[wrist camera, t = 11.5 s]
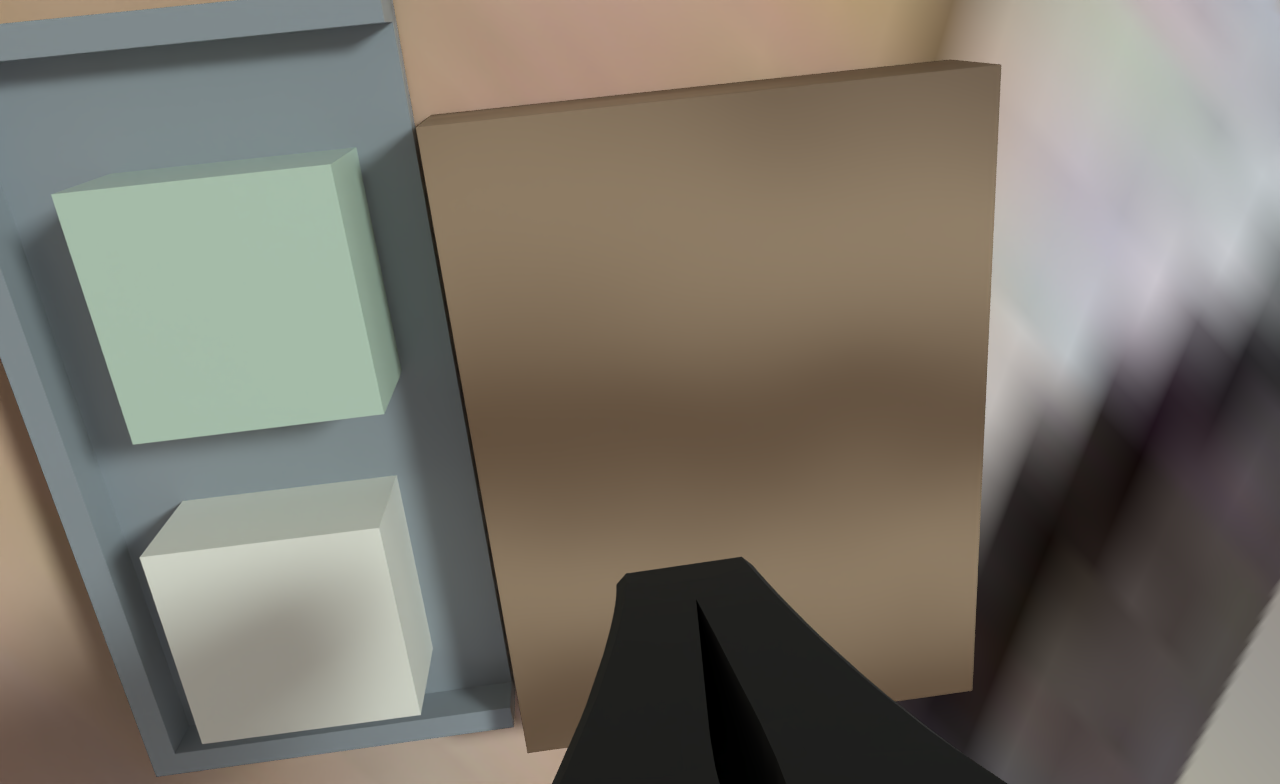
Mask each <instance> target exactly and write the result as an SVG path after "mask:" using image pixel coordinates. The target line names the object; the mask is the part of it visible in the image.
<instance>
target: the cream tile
mask: <svg viewBox="0 0 1280 784" xmlns="http://www.w3.org/2000/svg"><path fill="white" fill-rule="evenodd" d="M140 560H141V563H142V566H143V569H144V572H145V575H146V578H147V581H148V584H149V587H150V590H151V593H152V596H153V599H154V602H155V605H156V608H157V611H158V614H159V617H160V620H161V623H162V626H163V629H164V632H165V635H166V638H167V641H168V644H169V647H170V650H171V653H172V656H173V659H174V662H175V664H176V667H177V670H178V673H179V676H180V679H181V682H182V685H183V688H184V691H185V694H186V697H187V700H188V703H189V706H190V709H191V712H192V715H193V718H194V721H195V724H196V727H197V730H198V733H199V736H200V739H201V742H202V744H207V743H215V742H222V741H230V740H237V739H245V738H252V737H260V736H267V735H274V734H282V733H289V732H297V731H304V730H312V729H319V728H327V727H334V726H342V725H349V724H357V723H364V722H372V721H379V720H387V719H394V718H402V717H409V716H416V715H421V711H422V705H423V700H424V695H425V689H426V684H427V678H428V673H429V667H430V662H431V656H432V651H433V646H432V642H431V637H430V632H429V627H428V622H427V618H426V613H425V608H424V603H423V598H422V594H421V589H420V584H419V579H418V574H417V570H416V565H415V560H414V555H413V551H412V546H411V541H410V536H409V531H408V527H407V522H406V517H405V512H404V507H403V503H402V498H401V493H400V488H399V483H398V479H397V475H395V476H386V477H378V478H370V479H361V480H353V481H345V482H337V483H328V484H320V485H312V486H303V487H295V488H287V489H279V490H270V491H262V492H254V493H245V494H237V495H229V496H220V497H212V498H204V499H196V500H187V501H182V502H181V504H180V505H179V506H178V508H177V509H176V510H175V512H174V513H173V514H172V515H171V517H170V518H169V519H168V521H167V522H166V523H165V525H164V526H163V527H162V529H161V530H160V531H159V533H158V534H157V535H156V537H155V538H154V539H153V540H152V542H151V543H150V544H149V546H148V547H147V548H146V550H145V551H144V552H143V554H142V555H141V556H140Z"/></svg>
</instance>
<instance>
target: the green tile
mask: <svg viewBox="0 0 1280 784" xmlns="http://www.w3.org/2000/svg"><path fill="white" fill-rule="evenodd" d="M51 196H52V199H53V202H54V205H55V208H56V211H57V214H58V217H59V221H60V224H61V227H62V230H63V233H64V236H65V239H66V242H67V245H68V248H69V251H70V254H71V257H72V260H73V263H74V266H75V269H76V272H77V275H78V279H79V282H80V285H81V288H82V291H83V294H84V297H85V300H86V303H87V306H88V309H89V312H90V315H91V318H92V321H93V324H94V327H95V330H96V333H97V336H98V340H99V343H100V346H101V349H102V352H103V355H104V358H105V361H106V364H107V367H108V370H109V373H110V376H111V379H112V382H113V385H114V388H115V391H116V394H117V398H118V401H119V404H120V407H121V410H122V413H123V416H124V419H125V422H126V425H127V428H128V431H129V434H130V437H131V440H132V443H133V445H135V444H143V443H151V442H159V441H168V440H176V439H184V438H192V437H200V436H209V435H217V434H225V433H233V432H242V431H250V430H258V429H266V428H274V427H283V426H291V425H299V424H307V423H315V422H324V421H332V420H340V419H348V418H357V417H365V416H373V415H381V414H384V413H385V411H386V408H387V406H388V404H389V401H390V399H391V396H392V394H393V392H394V389H395V387H396V384H397V382H398V380H399V377H400V375H401V372H402V370H401V365H400V360H399V355H398V350H397V345H396V340H395V335H394V330H393V326H392V321H391V316H390V311H389V306H388V301H387V296H386V291H385V286H384V281H383V276H382V271H381V266H380V261H379V256H378V252H377V247H376V242H375V237H374V232H373V227H372V222H371V217H370V212H369V207H368V202H367V197H366V192H365V187H364V182H363V178H362V173H361V168H360V163H359V158H358V153H357V148H356V147H353V148H344V149H335V150H326V151H316V152H307V153H298V154H288V155H279V156H270V157H260V158H251V159H242V160H233V161H223V162H214V163H205V164H195V165H186V166H177V167H167V168H158V169H149V170H140V171H130V172H121V173H112V174H108V175H105V176H102V177H100V178H97V179H94V180H91V181H88V182H85V183H82V184H79V185H77V186H74V187H71V188H68V189H65V190H62V191H59V192H57V193H54V194H51Z"/></svg>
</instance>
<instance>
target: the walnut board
mask: <svg viewBox="0 0 1280 784" xmlns="http://www.w3.org/2000/svg"><path fill="white" fill-rule="evenodd" d="M1000 81H1001V65H1000V64H989V63H979V62H968V61H958V60H943V61H933V62H924V63H914V64H905V65H896V66H886V67H877V68H868V69H858V70H849V71H840V72H830V73H821V74H811V75H802V76H793V77H783V78H774V79H765V80H755V81H746V82H737V83H727V84H718V85H708V86H699V87H690V88H680V89H671V90H662V91H652V92H643V93H634V94H624V95H615V96H605V97H596V98H587V99H577V100H568V101H559V102H549V103H540V104H531V105H521V106H512V107H502V108H493V109H484V110H474V111H465V112H456V113H446V114H437V115H431V116H429V117H428V118H427V119H426V120H424V121H423V122H422V123H421V124H420V125H418V126H417V127H416V131H417V137H418V142H419V148H420V154H421V159H422V165H423V170H424V176H425V182H426V187H427V193H428V198H429V204H430V210H431V215H432V221H433V226H434V232H435V238H436V243H437V249H438V254H439V260H440V266H441V271H442V277H443V282H444V288H445V294H446V299H447V305H448V310H449V316H450V322H451V327H452V333H453V338H454V344H455V350H456V355H457V361H458V366H459V372H460V378H461V383H462V389H463V394H464V400H465V406H466V411H467V417H468V422H469V428H470V434H471V439H472V445H473V450H474V456H475V461H476V467H477V473H478V478H479V484H480V489H481V495H482V501H483V506H484V512H485V517H486V523H487V529H488V534H489V540H490V545H491V551H492V557H493V562H494V568H495V573H496V579H497V585H498V590H499V596H500V601H501V607H502V613H503V618H504V624H505V629H506V635H507V641H508V646H509V652H510V657H511V663H512V669H513V674H514V680H515V685H516V691H517V697H518V702H519V708H520V713H521V719H522V725H523V730H524V736H525V741H526V747H527V753H532V752H539V751H546V750H553V749H560V748H568V746H569V744H570V742H571V740H572V737H573V735H574V733H575V730H576V728H577V726H578V723H579V721H580V719H581V716H582V714H583V711H584V709H585V706H586V703H587V701H588V698H589V695H590V692H591V689H592V686H593V683H594V680H595V677H596V674H597V671H598V668H599V666H600V663H601V660H602V657H603V653H604V650H605V646H606V643H607V639H608V635H609V632H610V628H611V623H612V619H613V614H614V608H615V601H616V584H617V583H618V582H619V581H620V580H621V579H622V577H623V576H624V575H625V574H626V573H633V572H639V571H646V570H653V569H660V568H667V567H674V566H681V565H688V564H694V563H701V562H708V561H715V560H722V559H729V558H736V557H743V558H744V559H745V560H747V561H748V562H749V563H751V564H752V565H753V566H754V567H755V568H756V570H757V571H758V572H759V573H760V574H761V575H762V576H763V577H764V579H765V580H766V581H767V582H768V583H769V584H770V585H771V586H772V587H773V588H774V590H775V591H776V592H777V593H778V594H779V595H780V596H781V597H782V598H783V599H784V600H785V601H786V602H787V603H788V604H789V605H790V606H791V607H792V608H793V609H794V610H795V611H796V612H797V613H798V614H799V615H800V616H801V617H802V618H803V619H804V620H805V621H806V622H807V623H808V624H809V625H810V626H811V627H812V628H813V629H814V630H815V631H816V632H817V633H818V634H819V635H820V636H821V637H822V638H823V639H824V640H825V641H826V642H827V643H829V644H830V645H831V646H832V647H833V648H834V649H835V650H836V651H837V652H839V653H840V654H841V655H842V656H843V657H844V658H845V659H846V660H847V661H848V662H850V663H851V664H852V665H853V666H854V667H855V668H856V669H857V670H858V671H859V672H861V673H862V674H863V675H864V676H865V677H866V678H867V679H869V680H870V681H871V682H872V683H873V684H874V685H876V686H877V687H878V688H879V689H880V690H882V691H883V692H884V693H885V694H886V695H887V696H889V697H890V698H891V699H892V700H894V701H901V700H908V699H915V698H922V697H929V696H936V695H943V694H950V693H958V692H965V691H972V683H973V661H974V640H975V618H976V597H977V575H978V554H979V532H980V511H981V489H982V468H983V446H984V425H985V403H986V382H987V360H988V339H989V317H990V296H991V274H992V253H993V231H994V210H995V188H996V167H997V145H998V124H999V102H1000Z"/></svg>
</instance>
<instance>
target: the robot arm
mask: <svg viewBox="0 0 1280 784" xmlns="http://www.w3.org/2000/svg"><path fill="white" fill-rule="evenodd" d="M552 784H1007V783H1006V782H1004V781H1003V780H1001V779H1000V778H998V777H997V776H995V775H994V774H992V773H991V772H989V771H988V770H986V769H985V768H983V767H982V766H980V765H979V764H977V763H976V762H974V761H973V760H971V759H970V758H968V757H967V756H965V755H964V754H963V753H961V752H960V751H959V750H957V749H956V748H954V747H953V746H952V745H950V744H949V743H948V742H946V741H945V740H944V739H942V738H941V737H940V736H938V735H937V734H936V733H934V732H933V731H932V730H930V729H929V728H928V727H926V726H925V725H924V724H922V723H921V722H920V721H919V720H917V719H916V718H915V717H914V716H912V715H911V714H910V713H909V712H907V711H906V710H905V709H904V708H902V707H901V706H900V705H899V704H897V703H896V702H895V701H894V700H892V699H891V698H890V697H889V696H887V695H886V694H885V693H884V692H883V691H882V690H880V689H879V688H878V687H877V686H876V685H874V684H873V683H872V682H871V681H870V680H869V679H867V678H866V677H865V676H864V675H863V674H862V673H861V672H859V671H858V670H857V669H856V668H855V667H854V666H853V665H852V664H851V663H850V662H848V661H847V660H846V659H845V658H844V657H843V656H842V655H841V654H840V653H839V652H837V651H836V650H835V649H834V648H833V647H832V646H831V645H830V644H829V643H827V642H826V641H825V640H824V639H823V638H822V637H821V636H820V635H819V634H818V633H817V632H816V631H815V630H814V629H813V628H812V627H811V626H810V625H809V624H808V623H807V622H806V621H805V620H804V619H803V618H802V617H801V616H800V615H799V614H798V613H797V612H796V611H795V610H794V609H793V608H792V607H791V606H790V605H789V604H788V603H787V602H786V601H785V600H784V599H783V598H782V597H781V596H780V595H779V594H778V593H777V592H776V591H775V590H774V588H773V587H772V586H771V585H770V584H769V583H768V582H767V581H766V580H765V579H764V577H763V576H762V575H761V574H760V573H759V572H758V571H757V570H756V568H755V567H754V566H753V565H752V564H751V563H749V562H748V561H747V560H745V559H744V558H743V557H736V558H729V559H722V560H715V561H708V562H701V563H694V564H688V565H681V566H674V567H667V568H660V569H653V570H646V571H639V572H633V573H626V574H625V575H624V576H623V577H622V579H621V580H620V581H619V582H618V583H617V584H616V601H615V608H614V614H613V619H612V623H611V628H610V632H609V635H608V639H607V643H606V646H605V650H604V653H603V657H602V660H601V663H600V666H599V668H598V671H597V674H596V677H595V680H594V683H593V686H592V689H591V692H590V695H589V698H588V701H587V703H586V706H585V709H584V711H583V714H582V716H581V719H580V721H579V723H578V726H577V728H576V730H575V733H574V735H573V737H572V740H571V742H570V744H569V746H568V749H567V751H566V753H565V756H564V758H563V760H562V763H561V765H560V767H559V769H558V772H557V774H556V776H555V778H554V780H553V783H552Z"/></svg>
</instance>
